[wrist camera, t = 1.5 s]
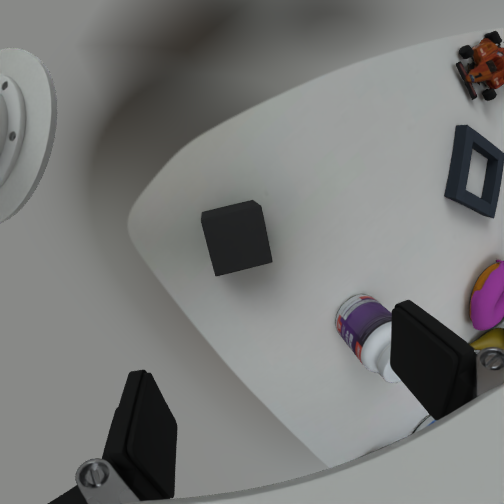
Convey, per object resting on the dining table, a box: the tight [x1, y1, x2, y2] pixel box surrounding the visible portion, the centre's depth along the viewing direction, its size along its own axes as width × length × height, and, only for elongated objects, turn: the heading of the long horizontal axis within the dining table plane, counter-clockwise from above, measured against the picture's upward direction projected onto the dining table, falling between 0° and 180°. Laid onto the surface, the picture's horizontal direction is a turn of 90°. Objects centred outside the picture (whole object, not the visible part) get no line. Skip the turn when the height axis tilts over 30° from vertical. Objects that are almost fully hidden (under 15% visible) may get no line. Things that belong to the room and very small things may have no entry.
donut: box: [470, 260, 504, 330], centre depth 32 cm, size 10×10×5 cm
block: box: [201, 200, 272, 276], centre depth 25 cm, size 5×5×4 cm
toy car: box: [456, 31, 504, 101], centre depth 23 cm, size 8×16×4 cm, turn 126°
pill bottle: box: [336, 295, 401, 383], centre depth 27 cm, size 5×5×10 cm
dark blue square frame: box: [444, 125, 504, 218], centre depth 28 cm, size 9×9×2 cm
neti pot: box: [470, 328, 504, 350], centre depth 36 cm, size 4×15×6 cm
